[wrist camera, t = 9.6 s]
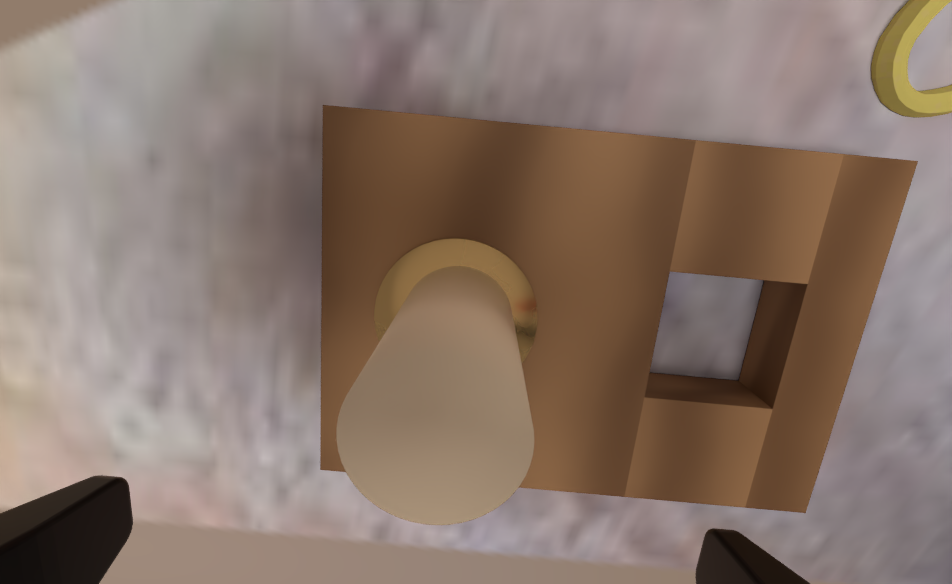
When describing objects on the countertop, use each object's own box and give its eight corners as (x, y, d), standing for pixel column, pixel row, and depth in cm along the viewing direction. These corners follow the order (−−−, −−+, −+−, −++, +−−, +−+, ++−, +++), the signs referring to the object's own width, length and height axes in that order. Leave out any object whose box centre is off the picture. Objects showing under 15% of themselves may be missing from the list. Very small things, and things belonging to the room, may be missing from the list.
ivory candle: (533, 300, 17) (572, 409, 9) (477, 387, 18) (471, 553, 10) (436, 245, 17) (393, 311, 9) (384, 337, 17) (304, 471, 10)
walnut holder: (860, 162, 18) (917, 161, 16) (769, 474, 22) (805, 512, 19) (344, 113, 18) (322, 105, 16) (338, 436, 22) (320, 469, 19)
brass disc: (568, 290, 17) (569, 292, 17) (484, 417, 18) (484, 420, 18) (423, 206, 16) (422, 206, 16) (348, 345, 18) (346, 347, 18)
